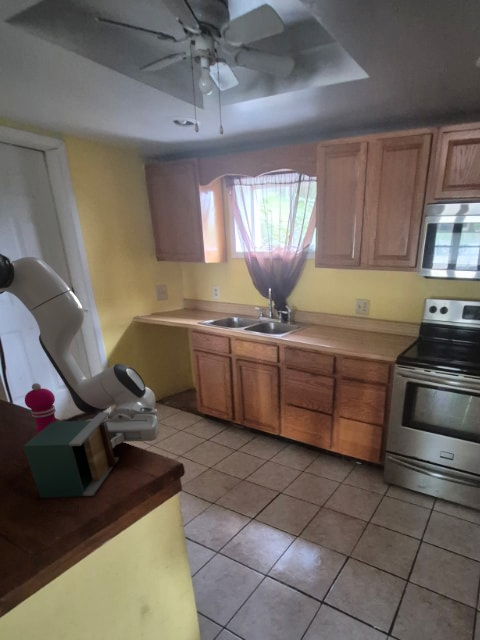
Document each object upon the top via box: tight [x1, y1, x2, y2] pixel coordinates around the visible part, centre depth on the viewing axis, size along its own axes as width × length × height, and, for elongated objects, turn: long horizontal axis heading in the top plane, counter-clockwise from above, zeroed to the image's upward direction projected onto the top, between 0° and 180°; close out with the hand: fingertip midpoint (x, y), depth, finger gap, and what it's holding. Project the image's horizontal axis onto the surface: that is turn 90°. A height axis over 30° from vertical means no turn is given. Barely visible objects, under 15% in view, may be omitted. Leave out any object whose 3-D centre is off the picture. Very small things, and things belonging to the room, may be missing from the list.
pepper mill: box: [24, 382, 58, 437], centre depth 92 cm, size 7×7×20 cm
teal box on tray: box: [22, 411, 120, 499], centre depth 85 cm, size 11×15×13 cm
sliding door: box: [83, 422, 117, 481], centre depth 85 cm, size 2×7×11 cm, turn 4°
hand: (106, 445), depth 89 cm, fingers closed, pressing on sliding door
